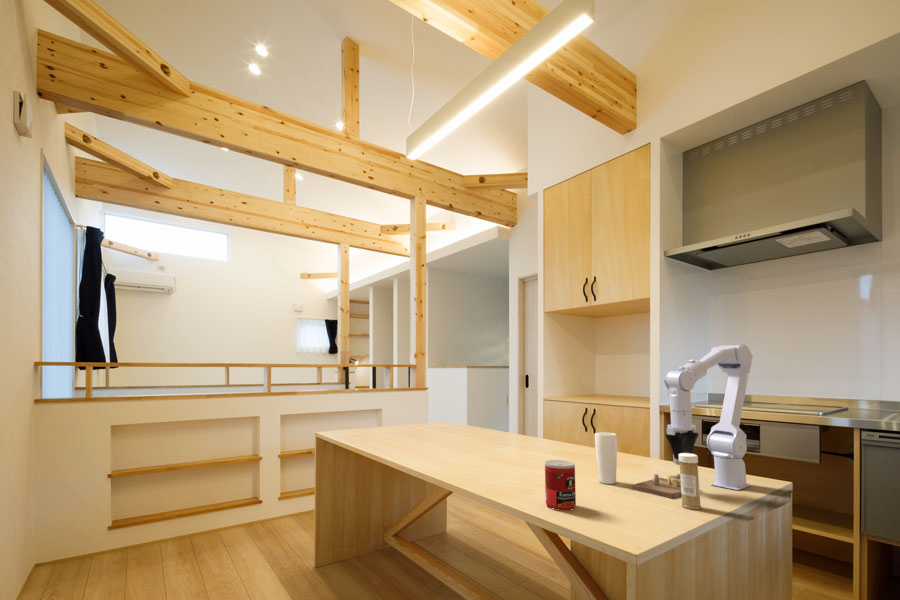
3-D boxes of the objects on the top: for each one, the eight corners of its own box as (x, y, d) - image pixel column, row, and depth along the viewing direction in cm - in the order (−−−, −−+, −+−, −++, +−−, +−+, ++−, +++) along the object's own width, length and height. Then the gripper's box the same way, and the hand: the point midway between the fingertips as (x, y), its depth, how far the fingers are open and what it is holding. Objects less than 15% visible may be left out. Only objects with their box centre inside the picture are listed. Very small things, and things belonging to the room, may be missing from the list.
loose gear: (679, 461, 140) (678, 450, 140) (697, 464, 136) (696, 453, 136) (671, 463, 137) (670, 452, 137) (689, 466, 133) (688, 455, 133)
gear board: (659, 481, 148) (658, 467, 148) (698, 489, 138) (697, 474, 139) (632, 489, 138) (631, 474, 138) (672, 498, 128) (671, 482, 129)
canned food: (559, 512, 115) (558, 467, 117) (539, 504, 122) (538, 461, 124) (582, 508, 119) (581, 464, 120) (561, 500, 126) (560, 458, 127)
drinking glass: (621, 481, 146) (619, 433, 148) (616, 486, 141) (614, 435, 143) (599, 478, 150) (597, 431, 152) (593, 483, 144) (592, 434, 146)
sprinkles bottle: (704, 508, 120) (701, 454, 122) (695, 511, 117) (691, 456, 119) (687, 503, 124) (684, 452, 125) (677, 506, 121) (674, 453, 123)
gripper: (678, 408, 146) (681, 453, 144) (655, 411, 137) (658, 458, 135) (702, 410, 141) (704, 456, 139) (679, 413, 132) (682, 462, 130)
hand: (683, 458), depth 137 cm, fingers closed on loose gear, 5 cm apart
